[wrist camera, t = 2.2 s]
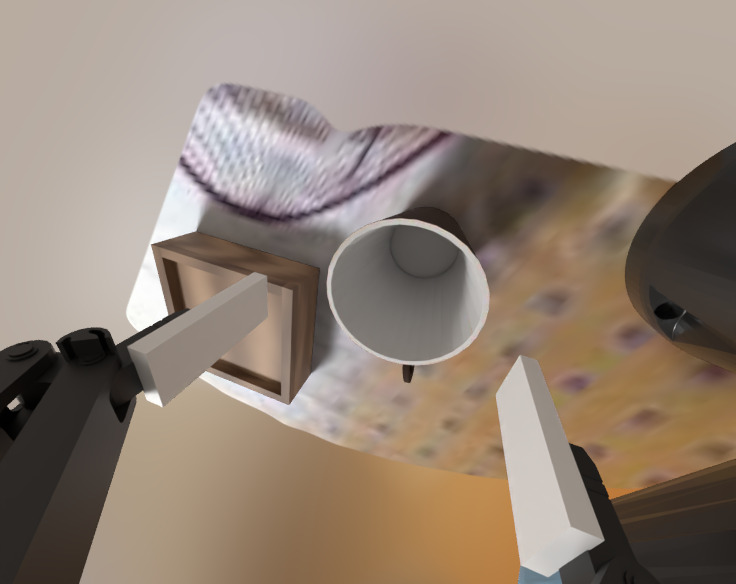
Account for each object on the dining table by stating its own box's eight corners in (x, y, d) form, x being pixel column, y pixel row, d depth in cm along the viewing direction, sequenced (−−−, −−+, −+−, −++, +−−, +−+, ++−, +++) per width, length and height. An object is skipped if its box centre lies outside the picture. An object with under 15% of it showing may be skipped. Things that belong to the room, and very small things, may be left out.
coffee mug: (399, 173, 21) (355, 186, 12) (502, 221, 20) (531, 270, 12) (351, 290, 27) (300, 353, 18) (429, 330, 26) (413, 414, 18)
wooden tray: (319, 268, 27) (292, 290, 23) (310, 374, 34) (289, 405, 30) (195, 231, 30) (151, 244, 25) (212, 336, 37) (179, 360, 33)
